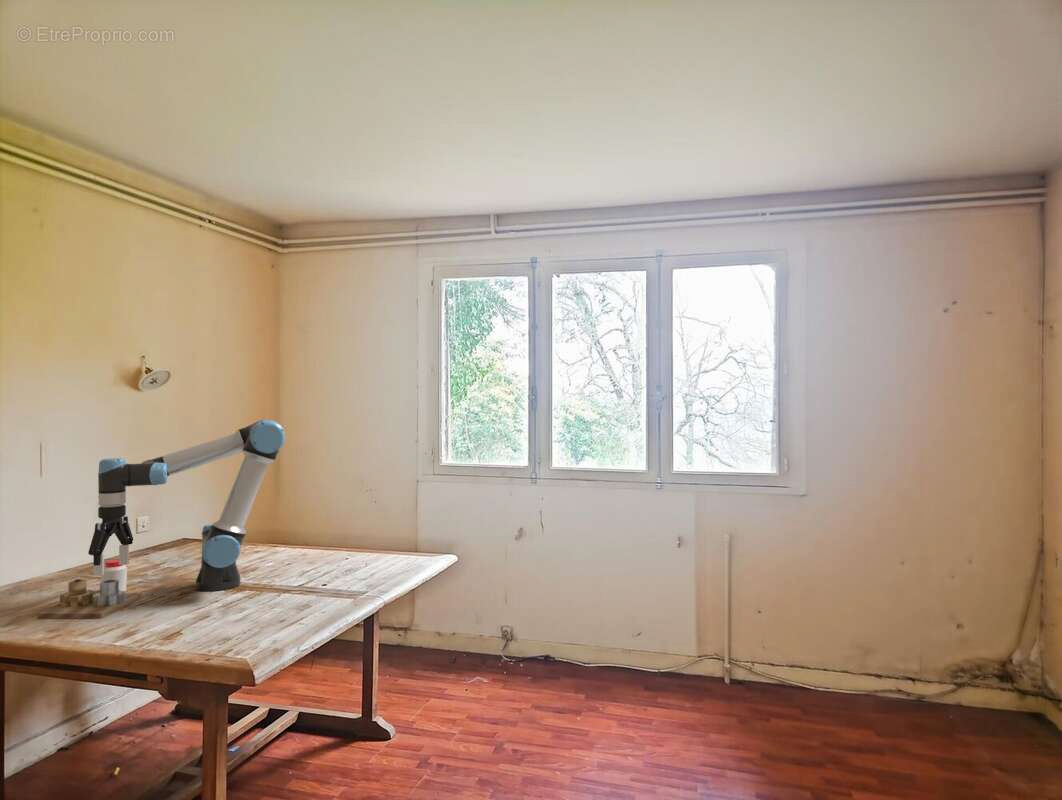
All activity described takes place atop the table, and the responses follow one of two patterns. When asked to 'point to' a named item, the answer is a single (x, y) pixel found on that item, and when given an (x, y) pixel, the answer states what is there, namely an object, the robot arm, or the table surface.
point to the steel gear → (108, 594)
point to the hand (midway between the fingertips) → (111, 569)
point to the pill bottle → (115, 573)
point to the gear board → (87, 609)
